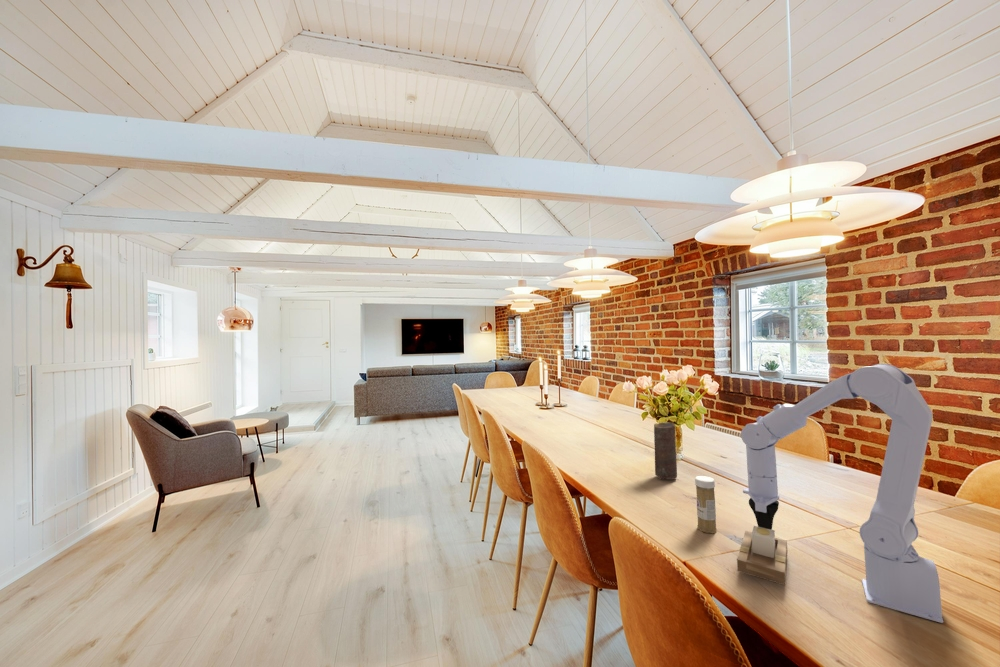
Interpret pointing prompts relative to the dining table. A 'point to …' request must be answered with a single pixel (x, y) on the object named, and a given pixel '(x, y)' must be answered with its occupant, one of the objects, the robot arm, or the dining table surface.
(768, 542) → the block
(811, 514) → the dining table surface
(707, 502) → the sprinkles bottle
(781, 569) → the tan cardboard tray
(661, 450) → the candle
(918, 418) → the robot arm
